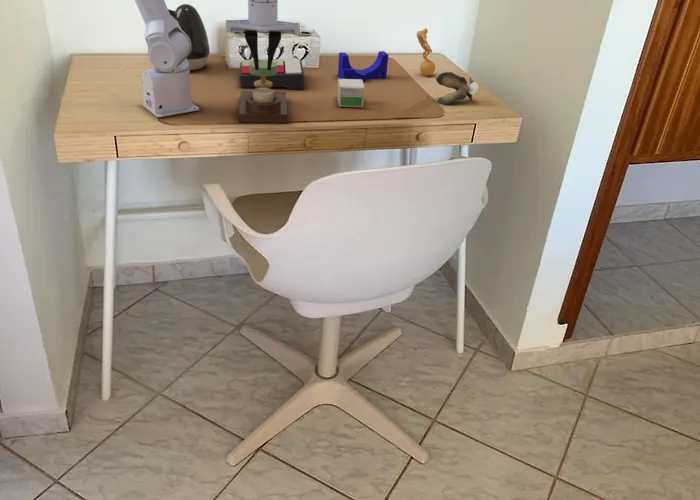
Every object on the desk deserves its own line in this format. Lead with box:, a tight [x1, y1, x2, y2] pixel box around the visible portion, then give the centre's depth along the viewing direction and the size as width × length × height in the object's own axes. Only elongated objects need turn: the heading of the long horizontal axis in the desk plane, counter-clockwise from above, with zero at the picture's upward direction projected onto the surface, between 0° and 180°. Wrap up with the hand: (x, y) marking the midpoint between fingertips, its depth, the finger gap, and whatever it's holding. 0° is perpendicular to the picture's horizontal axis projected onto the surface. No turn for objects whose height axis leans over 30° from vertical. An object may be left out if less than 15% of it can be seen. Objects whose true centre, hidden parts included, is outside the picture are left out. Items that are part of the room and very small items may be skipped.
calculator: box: [238, 58, 305, 90], centre depth 162 cm, size 11×4×15 cm
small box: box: [336, 78, 365, 109], centre depth 153 cm, size 6×6×5 cm
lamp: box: [249, 59, 277, 89], centre depth 147 cm, size 6×6×5 cm
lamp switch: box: [251, 87, 275, 103], centre depth 141 cm, size 4×4×2 cm
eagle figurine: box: [435, 71, 480, 105], centre depth 159 cm, size 8×7×9 cm
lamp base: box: [238, 90, 288, 124], centre depth 145 cm, size 14×10×4 cm
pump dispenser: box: [168, 3, 211, 72], centre depth 164 cm, size 10×10×15 cm
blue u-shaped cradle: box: [337, 50, 389, 82], centre depth 168 cm, size 12×4×6 cm, turn 108°
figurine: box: [416, 28, 436, 77], centre depth 172 cm, size 8×6×12 cm
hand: (263, 68), depth 138 cm, fingers closed
